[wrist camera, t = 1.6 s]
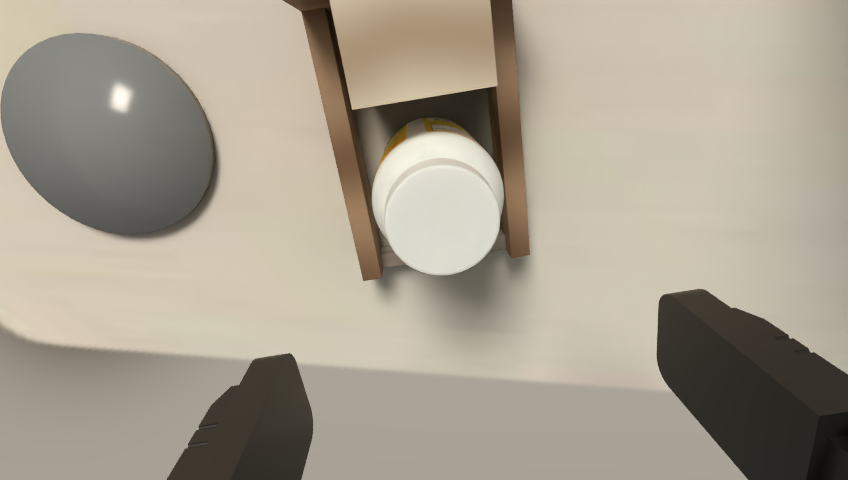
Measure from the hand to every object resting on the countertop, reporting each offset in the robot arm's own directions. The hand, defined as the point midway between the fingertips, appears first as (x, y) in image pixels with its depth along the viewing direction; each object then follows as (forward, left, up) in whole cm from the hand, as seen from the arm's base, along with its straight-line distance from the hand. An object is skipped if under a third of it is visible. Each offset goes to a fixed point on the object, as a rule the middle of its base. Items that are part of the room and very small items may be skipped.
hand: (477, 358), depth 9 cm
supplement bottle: (-1, 0, -16) cm, 16 cm away
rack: (-3, 0, -16) cm, 16 cm away
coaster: (-5, -16, -16) cm, 23 cm away
